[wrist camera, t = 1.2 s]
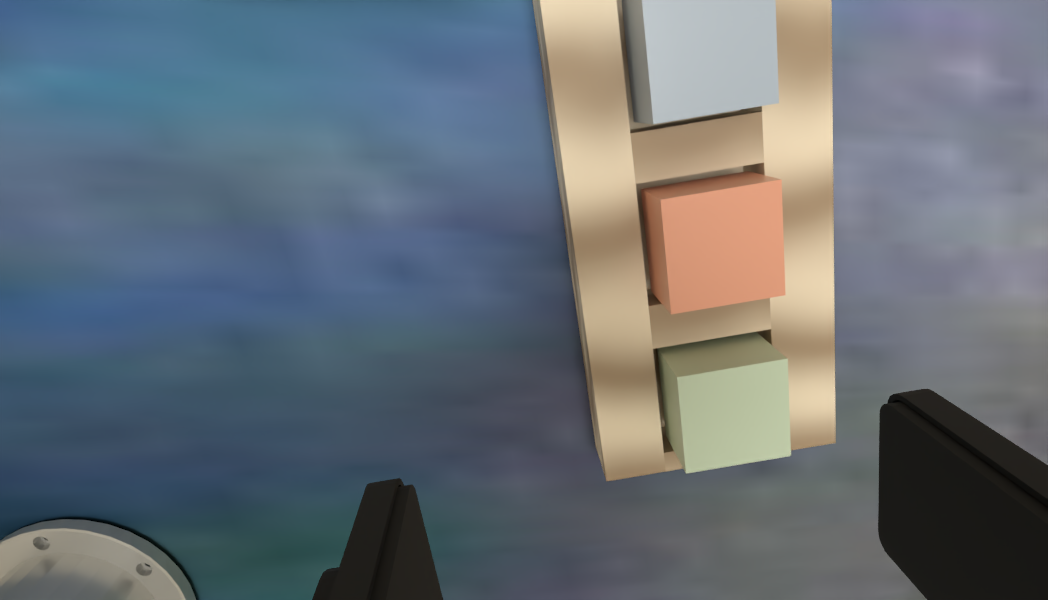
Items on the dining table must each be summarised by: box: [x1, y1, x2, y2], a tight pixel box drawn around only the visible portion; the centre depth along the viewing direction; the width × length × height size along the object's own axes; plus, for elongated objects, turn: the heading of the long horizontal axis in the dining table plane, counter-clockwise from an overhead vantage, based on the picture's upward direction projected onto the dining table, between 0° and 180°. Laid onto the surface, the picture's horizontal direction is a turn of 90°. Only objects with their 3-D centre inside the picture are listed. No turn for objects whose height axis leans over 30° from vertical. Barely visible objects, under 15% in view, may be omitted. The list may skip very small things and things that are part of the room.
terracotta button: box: [641, 171, 786, 314], centre depth 28 cm, size 5×5×4 cm
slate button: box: [622, 0, 779, 124], centre depth 25 cm, size 5×5×4 cm
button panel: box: [532, 0, 836, 481], centre depth 30 cm, size 24×12×4 cm, turn 9°
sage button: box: [657, 332, 791, 473], centre depth 30 cm, size 5×5×4 cm
